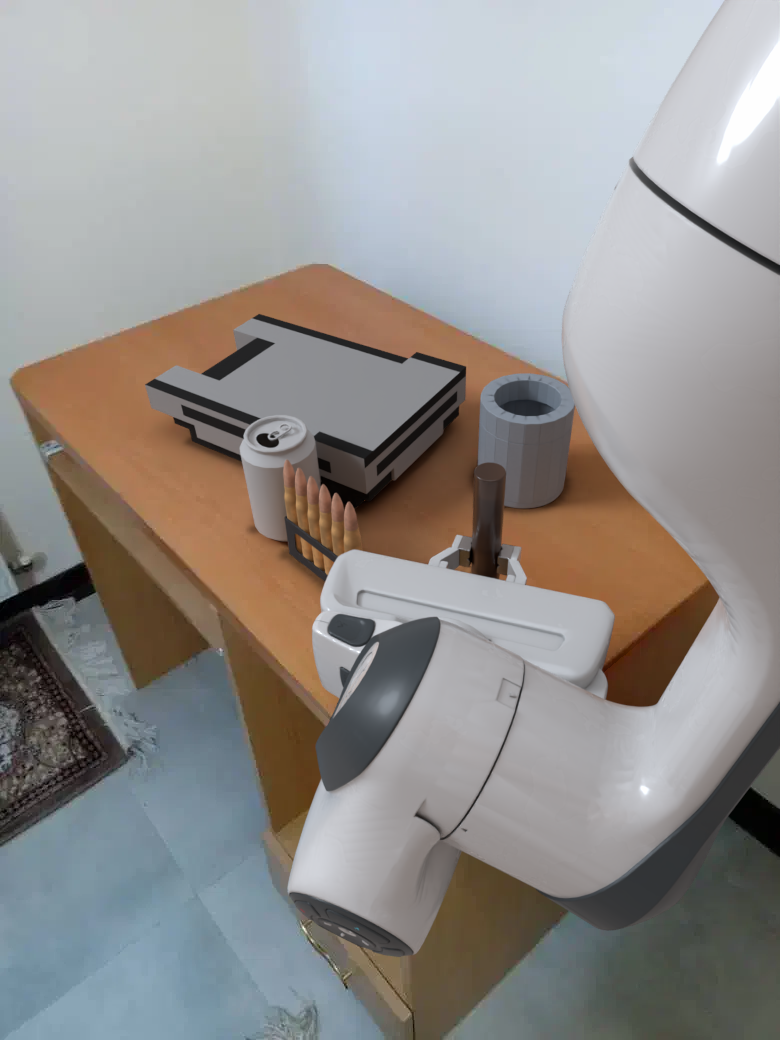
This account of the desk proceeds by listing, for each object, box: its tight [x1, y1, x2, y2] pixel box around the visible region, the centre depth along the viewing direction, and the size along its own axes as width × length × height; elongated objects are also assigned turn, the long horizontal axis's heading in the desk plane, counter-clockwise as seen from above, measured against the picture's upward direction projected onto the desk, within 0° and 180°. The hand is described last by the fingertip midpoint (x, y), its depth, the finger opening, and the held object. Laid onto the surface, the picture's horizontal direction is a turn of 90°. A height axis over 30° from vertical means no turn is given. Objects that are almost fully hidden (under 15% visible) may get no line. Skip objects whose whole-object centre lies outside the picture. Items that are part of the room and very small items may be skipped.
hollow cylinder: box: [477, 372, 576, 509], centre depth 85 cm, size 10×10×11 cm
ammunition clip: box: [283, 459, 364, 582], centre depth 75 cm, size 11×2×12 cm, turn 43°
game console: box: [144, 313, 467, 509], centre depth 95 cm, size 21×32×8 cm, turn 56°
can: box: [240, 415, 321, 542], centre depth 81 cm, size 8×8×12 cm
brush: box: [470, 462, 506, 579], centre depth 61 cm, size 3×3×18 cm
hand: (488, 546), depth 61 cm, fingers closed on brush, 2 cm apart
